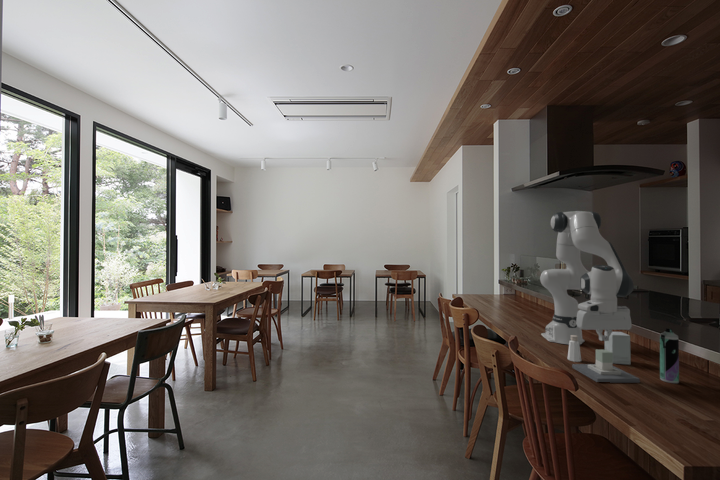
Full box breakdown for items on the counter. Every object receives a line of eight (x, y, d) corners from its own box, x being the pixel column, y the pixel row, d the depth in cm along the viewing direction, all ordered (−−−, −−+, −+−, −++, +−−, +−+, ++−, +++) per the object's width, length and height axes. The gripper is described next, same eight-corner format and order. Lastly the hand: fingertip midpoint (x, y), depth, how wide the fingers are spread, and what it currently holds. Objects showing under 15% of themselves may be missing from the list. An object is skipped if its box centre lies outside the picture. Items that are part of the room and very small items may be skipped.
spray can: (674, 384, 132) (674, 330, 132) (657, 379, 137) (656, 327, 137) (681, 381, 135) (681, 329, 135) (664, 376, 140) (663, 326, 140)
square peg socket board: (572, 367, 150) (572, 361, 150) (609, 367, 150) (609, 361, 150) (597, 382, 134) (597, 375, 134) (639, 382, 134) (639, 375, 134)
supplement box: (631, 364, 153) (631, 335, 154) (612, 363, 155) (611, 334, 155) (622, 359, 161) (622, 331, 161) (604, 358, 162) (603, 330, 162)
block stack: (595, 369, 144) (595, 349, 144) (605, 369, 144) (605, 349, 144) (602, 372, 140) (602, 352, 140) (612, 372, 140) (612, 352, 140)
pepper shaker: (581, 362, 156) (581, 337, 156) (567, 360, 159) (567, 336, 159) (581, 359, 161) (581, 335, 161) (567, 357, 164) (567, 333, 164)
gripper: (623, 304, 145) (623, 338, 145) (573, 304, 145) (574, 338, 145) (635, 307, 139) (635, 342, 139) (583, 307, 139) (583, 342, 139)
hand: (603, 340), depth 142 cm, fingers closed
